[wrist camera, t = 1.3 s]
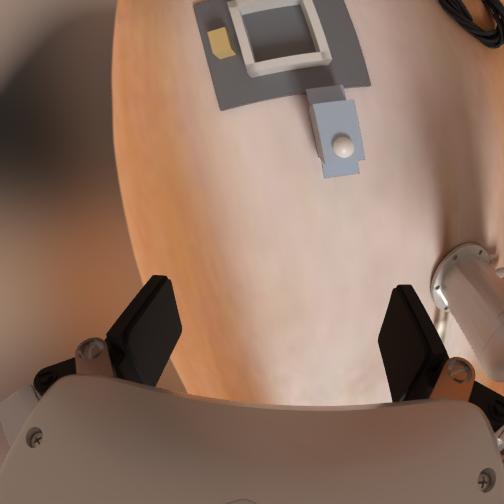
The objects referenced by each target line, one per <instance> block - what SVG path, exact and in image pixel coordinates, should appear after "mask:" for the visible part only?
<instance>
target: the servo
mask: <svg viewBox="0 0 504 504" xmlns="http://www.w3.org/2000/svg"><path fill="white" fill-rule="evenodd" d="M306 93H307V97H308V101H309V105H310V108H309V109H308V110H309V114H310V118H311V123H312V127H313V132H314V137H315V142H316V147H317V152H318V157H319V158H320V159H321V162H322V168H323V174H324V178H331V177H338V176H346V175H353V174H360V172H359V165H358V161H360V160H365V156H364V150H363V143H362V137H361V132H360V126H359V121H358V116H357V111H356V106H355V102H354V99H353V100H346V96H345V92H344V88H343V85H336V86H327V87H319V88H312V89H306Z"/></svg>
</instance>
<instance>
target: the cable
mask: <svg viewBox="0 0 504 504" xmlns="http://www.w3.org/2000/svg"><path fill="white" fill-rule="evenodd" d="M482 1H484V3H485V5H486V7H487V8H488V10H489V12H490V14H491V15H492V17H493V18H494V20H495V21H496V23H497V27H496V29H495V30H493V31H488V32H485V31H484V30H483V29H481V28H480V27H478V26H477V25H476V24H474V23H473V19H472V17H471V15H470V14H469V12H468V10H467V9H466V7H465V5H464V4H463V2H462V1H461V0H439V2H440V3H441V5H442V6H443V8H444V9H445V10H446V11H447V12H448V13H449V14H450V15H451V16H453V17H454V18H455V19H456V21H457V22H458V23H459V24H460V25H461V26H462V27H464V28H465V29H466V30H467V31H468V32H469V33H471V34H472V35H473V36H475V37H476V38H477V39H478V40H480V42H481V43H483V44H484V45H485V46H487V47H489V48H499V47H500V46H501V45H503V44H504V6H503V4H502V3H501V2H500V0H482ZM489 7H490V8H491V9H492V11H493V13H494V14H493V13H492V12H491V10H490V8H489ZM499 15H500V17H501V19H500V17H499Z"/></svg>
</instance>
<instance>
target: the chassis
mask: <svg viewBox="0 0 504 504" xmlns="http://www.w3.org/2000/svg"><path fill="white" fill-rule="evenodd" d="M193 8H194V11H195V15H196V19H197V23H198V27H199V31H200V34H201V38H202V42H203V46H204V50H205V53H206V57H207V61H208V65H209V69H210V73H211V77H212V80H213V84H214V88H215V92H216V96H217V100H218V104H219V108H220V111H224V110H228V109H231V108H235V107H239V106H243V105H247V104H252V103H256V102H260V101H265V100H270V99H275V98H280V97H285V96H291V95H297V94H303V93H306V89H312V88H319V87H327V86H336V85H343V88H355V87H369V86H371V83H370V79H369V75H368V71H367V68H366V64H365V61H364V57H363V54H362V50H361V47H360V44H359V41H358V38H357V35H356V32H355V29H354V26H353V23H352V21H351V18H350V15H349V13H348V10H347V8H346V5H345V3H344V0H208V1H205V2H202V3H199V4H196V5H193Z"/></svg>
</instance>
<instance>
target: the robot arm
mask: <svg viewBox="0 0 504 504" xmlns="http://www.w3.org/2000/svg"><path fill="white" fill-rule="evenodd" d="M503 275H504V268H503V267H501V268H498V269H495V268H494V267H493V266H492V265H491V264H490V258H489V255H488V253H487V251H486V250H485V249H484V248H482V247H481V246H480V245H478V244H475V243H466V244H463V245H460V246H458V247H456V248H455V249H453V250H452V251H451V252H450V253H449V254H447V255H446V257H445V258H444V259H443V260H442V261H441V263H440V264H439V266H438V267H437V269H436V271H435V273H434V276H433V279H432V283H431V296H432V299H433V301H434V303H435V305H436V306H437V307H438V308H439V309H440V310H442V311H444V312H451V313H452V315H453V316H454V318H455V319H456V321H457V323H458V324H459V326H460V328H461V330H462V331H463V333H464V335H465V337H466V338H467V340H468V342H469V344H470V346H471V347H472V349H473V351H474V353H475V355H476V357H477V359H478V361H479V363H480V365H481V367H482V369H483V371H484V372H485V374H486V375H487V376H488V377H489V378H490V379H491V380H493V381H496V382H500V383H504V277H502V278H500V277H499V276H503ZM181 332H182V325H181V321H180V317H179V313H178V309H177V305H176V300H175V296H174V291H173V287H172V282H171V280H170V279H168V278H167V276H162V275H153V276H152V277H151V278H150V279H149V281H148V282H147V283H146V284H145V285H144V287H143V288H142V289H141V290H140V292H139V293H138V294H137V295H136V297H135V298H134V299H133V300H132V302H131V303H130V304H129V305H128V307H127V308H126V309H125V310H124V312H123V313H122V314H121V316H120V317H119V318H118V319H117V321H116V322H115V323H114V325H113V326H112V327H111V329H110V330H109V331H108V333H107V334H106V335H107V338H106V339H105V340H103V339H101V338H97V337H93V338H89V339H87V340H84V341H83V342H82V343H80V344H79V346H78V347H77V349H76V351H75V357H74V358H72V359H69V360H66V361H63V362H60V363H58V364H55V365H52V366H49V367H46V368H44V369H42V370H40V371H39V372H38V373H37V375H36V376H35V378H34V384H33V385H32V384H31V383H29V384H27V385H26V386H24V387H23V388H21V389H20V390H18V391H17V392H15V393H13V394H12V395H11V396H9V397H8V398H6V399H5V400H3V401H2V402H1V404H0V421H1V424H2V427H3V430H4V433H5V436H6V439H7V441H8V444H9V447H10V450H9V452H8V454H7V456H6V459H5V461H4V463H3V465H2V468H1V470H0V504H504V397H503V396H502V395H500V394H498V393H496V392H494V391H493V390H491V389H489V388H487V387H485V386H484V385H482V384H480V383H478V382H477V381H475V370H474V368H473V366H472V365H471V364H470V362H469V361H467V360H465V359H463V358H460V357H453V358H450V359H449V356H448V354H447V351H446V349H445V347H444V345H443V343H442V341H441V339H440V337H439V335H438V333H437V331H436V329H435V327H434V325H433V323H432V321H431V319H430V317H429V315H428V313H427V312H426V310H425V308H424V306H423V304H422V303H421V301H420V299H419V297H418V296H417V294H416V292H415V290H414V289H413V287H412V286H411V285H398V286H397V287H396V288H394V289H393V291H392V294H391V298H390V301H389V305H388V308H387V311H386V315H385V318H384V321H383V324H382V327H381V330H380V333H379V337H378V344H379V348H380V352H381V355H382V359H383V363H384V367H385V371H386V375H387V379H388V383H389V388H390V392H391V397H392V401H393V402H392V403H381V404H367V405H350V406H290V405H271V404H259V403H248V402H239V401H230V400H223V399H216V398H209V397H203V396H197V395H191V394H185V393H181V392H175V391H171V390H166V389H162V388H157V387H155V386H156V384H157V382H158V380H159V378H160V376H161V374H162V372H163V370H164V368H165V366H166V364H167V362H168V360H169V358H170V355H171V353H172V351H173V349H174V347H175V345H176V343H177V341H178V339H179V337H180V335H181Z"/></svg>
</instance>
